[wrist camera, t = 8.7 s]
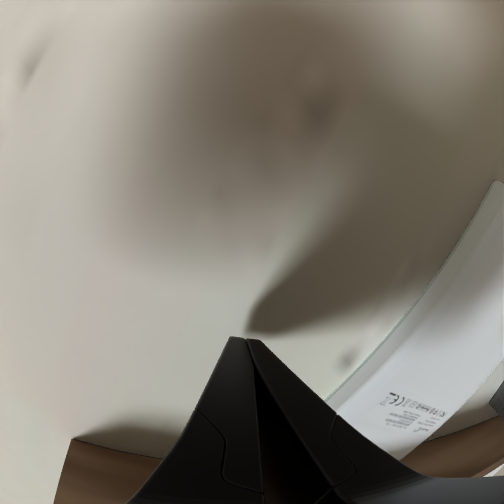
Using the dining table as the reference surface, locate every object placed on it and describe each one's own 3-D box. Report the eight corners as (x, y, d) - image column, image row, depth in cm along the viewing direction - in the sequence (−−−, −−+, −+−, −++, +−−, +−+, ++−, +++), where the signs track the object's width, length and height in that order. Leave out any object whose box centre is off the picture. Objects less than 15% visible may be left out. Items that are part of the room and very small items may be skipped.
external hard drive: (532, 276, 11) (392, 443, 14) (484, 176, 9) (288, 420, 11) (552, 289, 9) (402, 463, 12) (516, 185, 7) (297, 450, 10)
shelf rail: (494, 427, 16) (515, 455, 13) (79, 459, 11) (64, 521, 7) (507, 411, 16) (529, 439, 12) (71, 439, 10) (52, 507, 6)
